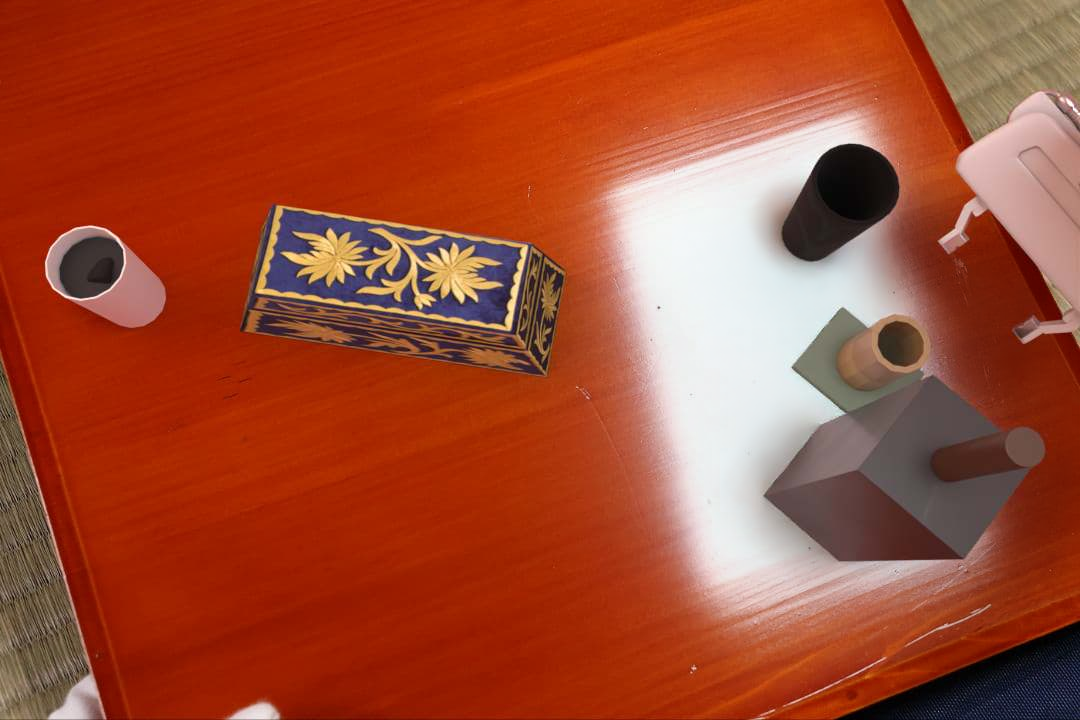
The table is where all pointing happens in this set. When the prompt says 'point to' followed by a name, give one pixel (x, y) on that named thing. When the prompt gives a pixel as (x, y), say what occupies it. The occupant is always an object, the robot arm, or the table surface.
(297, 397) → the table surface
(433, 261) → the decorative box
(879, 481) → the peg stand
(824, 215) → the cup
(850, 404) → the felt coaster
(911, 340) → the orange hollow cylinder
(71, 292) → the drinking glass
